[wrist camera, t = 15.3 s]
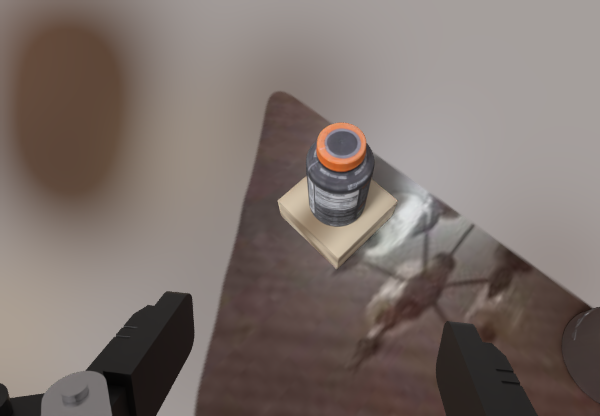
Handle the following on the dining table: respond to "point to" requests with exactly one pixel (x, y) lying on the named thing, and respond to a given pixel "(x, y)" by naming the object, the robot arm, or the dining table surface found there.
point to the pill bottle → (339, 174)
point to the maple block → (336, 240)
